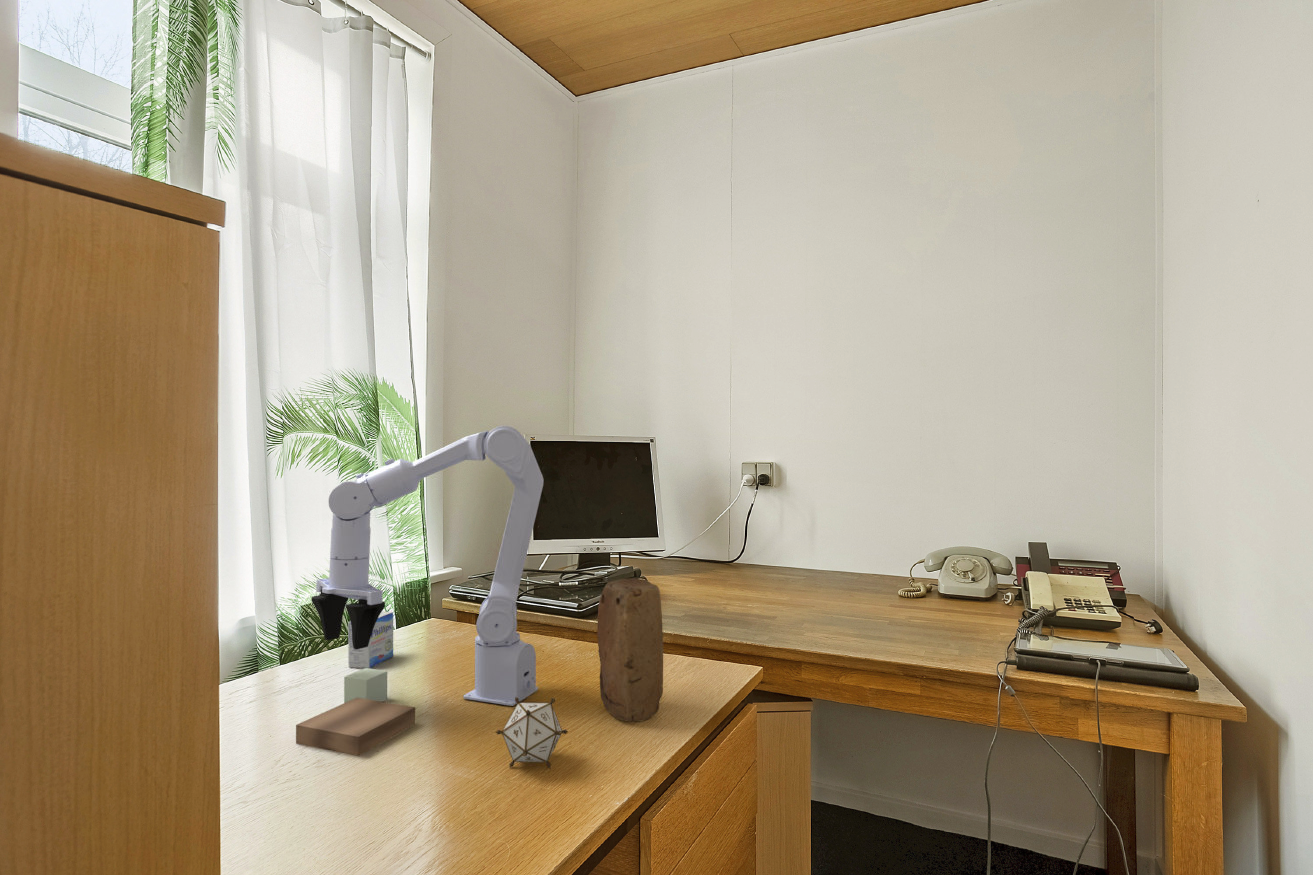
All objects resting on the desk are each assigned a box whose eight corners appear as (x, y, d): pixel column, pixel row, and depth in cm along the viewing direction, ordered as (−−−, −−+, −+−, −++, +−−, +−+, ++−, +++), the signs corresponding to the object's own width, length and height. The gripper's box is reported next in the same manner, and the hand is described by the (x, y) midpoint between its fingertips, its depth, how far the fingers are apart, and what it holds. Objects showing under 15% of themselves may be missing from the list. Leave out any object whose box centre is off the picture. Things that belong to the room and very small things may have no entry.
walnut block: (415, 727, 101) (415, 706, 101) (358, 759, 90) (358, 736, 90) (356, 717, 104) (357, 697, 104) (295, 746, 94) (296, 724, 94)
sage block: (387, 698, 111) (387, 670, 111) (366, 708, 107) (366, 680, 107) (365, 695, 112) (365, 667, 112) (344, 705, 108) (344, 676, 108)
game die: (535, 798, 86) (524, 757, 80) (490, 759, 91) (477, 717, 85) (583, 744, 92) (576, 702, 86) (538, 710, 96) (529, 667, 90)
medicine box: (369, 669, 125) (369, 622, 125) (347, 667, 126) (347, 620, 126) (393, 656, 133) (394, 611, 133) (373, 655, 134) (373, 610, 134)
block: (667, 718, 103) (667, 585, 103) (623, 729, 99) (623, 590, 99) (633, 695, 112) (633, 573, 112) (591, 704, 108) (591, 577, 108)
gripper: (299, 554, 109) (295, 640, 109) (354, 565, 101) (350, 658, 101) (340, 550, 115) (337, 631, 115) (395, 560, 107) (391, 647, 107)
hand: (346, 643), depth 108 cm, fingers open, 7 cm apart
